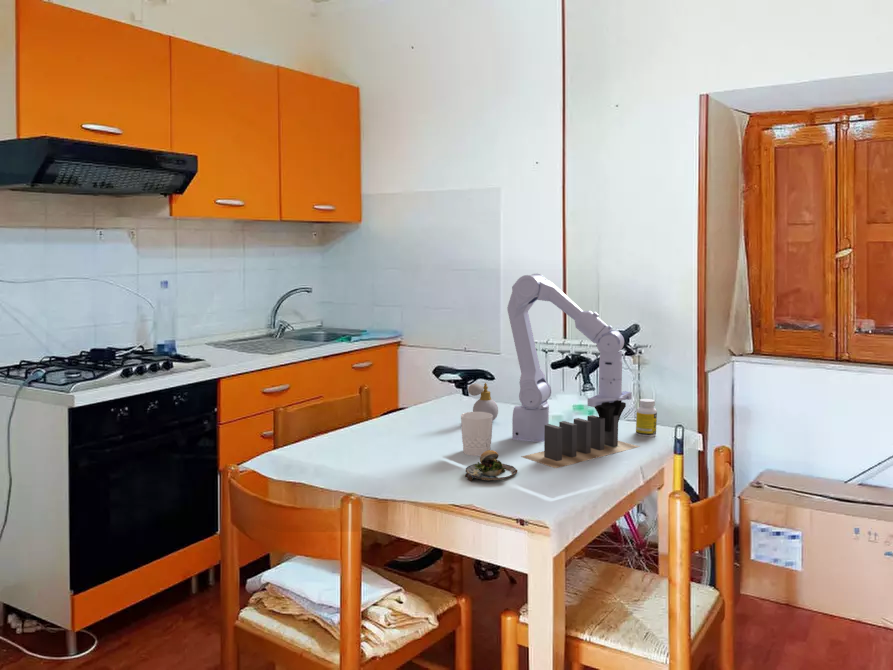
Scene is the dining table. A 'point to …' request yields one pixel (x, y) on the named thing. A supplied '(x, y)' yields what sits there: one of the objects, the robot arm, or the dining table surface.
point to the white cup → (476, 432)
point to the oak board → (579, 455)
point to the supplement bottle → (646, 418)
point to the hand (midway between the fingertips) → (609, 430)
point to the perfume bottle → (483, 400)
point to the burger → (488, 467)
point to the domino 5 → (612, 433)
